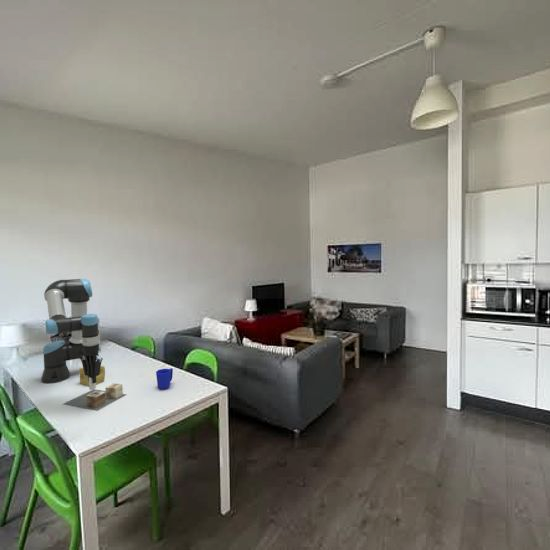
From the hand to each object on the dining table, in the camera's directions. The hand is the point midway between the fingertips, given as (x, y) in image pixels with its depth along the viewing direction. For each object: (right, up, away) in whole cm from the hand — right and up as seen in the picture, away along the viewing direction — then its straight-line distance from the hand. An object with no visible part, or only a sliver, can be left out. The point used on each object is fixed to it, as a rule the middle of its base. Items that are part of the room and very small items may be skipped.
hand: (92, 388), depth 170 cm
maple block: (+6, -8, +10) cm, 14 cm away
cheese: (-17, -7, +31) cm, 36 cm away
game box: (-49, -4, +87) cm, 100 cm away
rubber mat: (-2, -8, +7) cm, 11 cm away
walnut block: (+2, -2, 0) cm, 3 cm away
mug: (+30, -7, +24) cm, 39 cm away
